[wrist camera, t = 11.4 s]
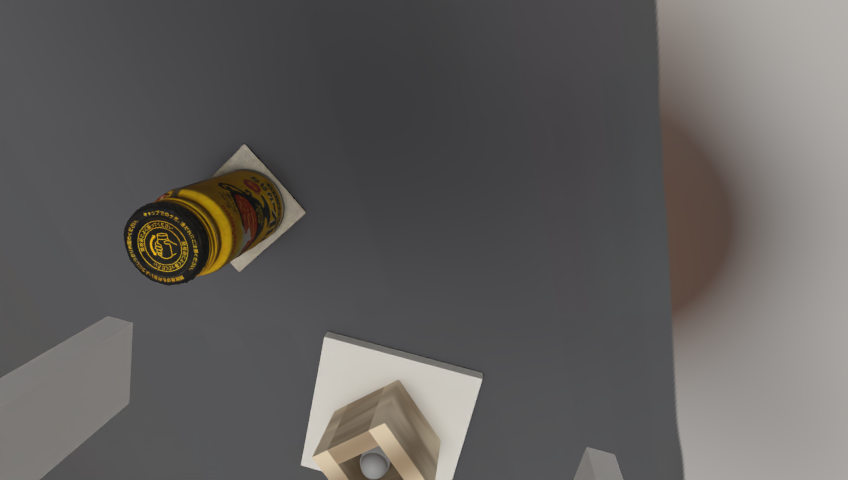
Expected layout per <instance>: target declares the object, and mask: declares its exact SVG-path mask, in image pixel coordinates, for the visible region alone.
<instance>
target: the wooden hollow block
mask: <svg viewBox="0 0 848 480" xmlns="http://www.w3.org/2000/svg"><path fill="white" fill-rule="evenodd" d="M440 443H441V440H440V439H439V437H438V436H437V434H436V433H435V432H434V430H433V429H432V427H431V426H430V424H429V423H428V421H427V420H426V418H425V417H424V416H423V414H422V413H421V411H420V410H419V408H418V407H417V405H416V404H415V402H414V401H413V400H412V398H411V397H410V395H409V394H408V392H407V391H406V389H405V388H404V386H403V385H402V384H401V382H400V381H399V379H398V380H396V381H394V382H392V383H390V384H388V385H386V386H384V387H382V388H380V389H378V390H376V391H374V392H372V393H370V394H368V395H366V396H364V397H362V398H360V399H358V400H356V401H354V402H352V403H350V404H348V405H346V406H344V407H342V408H340V409H338V410H336V411H334V413H333V415H332V417H331V420H330V422H329V424H328V426H327V428H326V430H325V432H324V434H323V436H322V438H321V440H320V442H319V444H318V446H317V448H316V450H315V452H314V454H313V456H312V458H313V460H314V461H315V462H316V464H317V465H318V466H319V468H320V469H321V470H322V471H323V473H324V474H325V475H326V477H327V478H328V479H329V480H435V478H436V471H437V464H438V457H439V450H440ZM377 446H380V447H381V449H382V450H383V451H384V453H385V454H386V456H387V457H388V458H389V460H390V461H391V462H390V466H389V469H388V471H387V472H386V473H385V474H384V475H383V476H382V477H381V478H378V479H369V478H367V477H366V476H365V475H364V474H363V473H362V470H361V467H360V458H361V456H362V453H364V452H366V451H369V450H371V449H373V448H375V447H377Z"/></svg>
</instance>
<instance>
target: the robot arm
mask: <svg viewBox="0 0 848 480" xmlns="http://www.w3.org/2000/svg"><path fill="white" fill-rule="evenodd" d="M132 331H133V323H131V322H128V321H124V320H120V319H117V318H113V317H109V316H107V317H105V318H104V319H102V320H100V321H99V322H97V323H95V324H93V325H92V326H90V327H88V328H86V329H85V330H83V331H81V332H80V333H78V334H76V335H74V336H73V337H71V338H69V339H67V340H66V341H64V342H62V343H60V344H59V345H57V346H55V347H54V348H52V349H50V350H48V351H47V352H45V353H43V354H41V355H40V356H38V357H36V358H35V359H33V360H31V361H29V362H28V363H26V364H24V365H22V366H21V367H19V368H17V369H15V370H14V371H12V372H10V373H9V374H7V375H5V376H3V377H2V378H0V480H40V479H41V478H42V477H43V476H44V475H45V474H47V473H48V472H49V471H50V470H51V469H52V468H54V467H55V466H56V465H57V464H58V463H59V462H61V461H62V460H63V459H64V458H65V457H66V456H68V455H69V454H70V453H71V452H72V451H74V450H75V449H76V448H77V447H78V446H79V445H81V444H82V443H83V442H84V441H85V440H86V439H88V438H89V437H90V436H91V435H92V434H93V433H95V432H96V431H97V430H98V429H99V428H100V427H102V426H103V425H104V424H105V423H106V422H108V421H109V420H110V419H111V418H112V417H113V416H115V415H116V414H117V413H118V412H119V411H120V410H122V409H123V408H124V407H125V406H126V405H127V404H129V393H130V373H131V352H132ZM574 480H623V477H622V474H621V472H620V469H619V466H618V463H617V460H616V457H615V455H614V454H611V453H607V452H603V451H600V450H596V449H592V448H589V447H586V450H585V452H584V455H583V457H582V460H581V462H580V465H579V467H578V470H577V472H576V475H575V477H574Z"/></svg>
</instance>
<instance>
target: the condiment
mask: <svg viewBox="0 0 848 480" xmlns="http://www.w3.org/2000/svg"><path fill="white" fill-rule="evenodd" d="M305 213H306V212H305V211H304V210H303V209H302V208H301V206H300V205H299V204H298V203H297V202H296V200H295V199H294V198H293V197H292V196H291V195H290V193H289V192H288V191H287V190H286V189H285V188H284V187H283V185H282V184H281V183H280V182H279V181H278V180H277V179H276V178H275V177H274V175H273V174H272V173H271V172H270V171H269V170H268V169H267V168H266V167H265V165H264V164H263V163H262V162H261V161H260V160H259V159H258V158H257V157H256V156H255V155H254V154H253V153H252V152H251V150H250V149H249V148H248V147H247V146H246V145H245V144H244V145H243V146H242V147H241V148H240V149H239V150H238V151H237V152H236V153H235V154H234V155H233V156H232V157H231V158H230V159H229V160H228V161H227V162H226V163H225V164H224V165H223V166H222V167H221V168H220V169H219V170H218V171H217V172H216V173H215V174H214V175H213V176H212V177H210V179H207V180H203V181H200V182H197V183H194V184H190V185H187V186H184V187H181V188H178V189H173V190H171V191H169V192H167V193H165V194H164V195H162V196H161V197H159V198H158V199H157V200H156V201H155V202H153V203H149V204H147V205H145V206H143V207H141V208H140V209H138V210H137V211H136V212H135V213H134V214H133V215H132V216H131V217H130V219H129V220H128V221H127V224H126V226H125V228H124V241H125V247H126V250H127V253H128V256H129V258H130V260H131V262H132V263H133V264H134V266H135V267H136V268H137V269H138V270H139V271H140V272H141V273H142V274H143V275H145V276H146V277H147V278H149V279H150V280H152V281H154V282H158V283H161V284H165V285H174V284H180V283H187V282H188V281H190V280H193V279H194V278H195V277H197V276H199V275H206V274H209V273H212V272H215V271H217V270H219V269H221V268H222V267H223V266H225V265H226V264H228V263H229V262H230V263H231V264H232V265H233V266H234V267H235V268H236V269H237V270H238V271H239V272H240V271H241V270H242V269H243V268H244V267H245V266H247V265H248V264H249V263H250V262H251V261H252V260H253V259H255V258H256V257H257V256H258V255H259V254H260V253H261V252H262V251H264V250H265V249H266V248H267V247H268V246H269V245H270V244H272V243H273V242H274V241H275V240H276V239H277V238H278V237H279V236H281V235H282V234H283V233H284V232H285V231H286V230H287V229H289V228H290V227H291V226H292V225H293V224H294V223H295V222H296V221H298V220H299V219H300V218H301V217H302V216H303V215H304V214H305Z"/></svg>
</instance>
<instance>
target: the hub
mask: <svg viewBox="0 0 848 480" xmlns="http://www.w3.org/2000/svg"><path fill="white" fill-rule="evenodd" d="M482 378H483V373H481V372H477V371H474V370H470V369H466V368H462V367H459V366H455V365H451V364H447V363H444V362H440V361H436V360H433V359H429V358H425V357H421V356H418V355H414V354H410V353H406V352H403V351H399V350H395V349H391V348H388V347H384V346H380V345H377V344H373V343H369V342H365V341H362V340H358V339H354V338H350V337H347V336H343V335H339V334H336V333H332V332H327V334H326V335H325V337H324V342H323V347H322V353H321V358H320V364H319V369H318V375H317V380H316V386H315V391H314V397H313V402H312V408H311V413H310V419H309V424H308V430H307V435H306V441H305V446H304V452H303V457H302V463H301V465H302V466H305V467H309V468H312V469H316V470H319V471H322V470H321V469H320V468H319V466H318V465H317V464H316V462H315V461H314V460H313V458H312V456H313V454H314V452H315V450H316V448H317V446H318V444H319V442H320V440H321V438H322V436H323V434H324V432H325V430H326V428H327V426H328V424H329V422H330V420H331V417H332V415H333V413H334V411H336V410H338V409H340V408H342V407H344V406H346V405H348V404H350V403H352V402H354V401H356V400H358V399H360V398H362V397H364V396H366V395H368V394H370V393H372V392H374V391H376V390H378V389H380V388H382V387H384V386H386V385H388V384H390V383H392V382H394V381H396V380H398V379H399V381H400V382H401V384H402V385H403V386H404V388H405V389H406V391H407V392H408V394H409V395H410V397H411V398H412V400H413V401H414V402H415V404H416V405H417V407H418V408H419V410H420V411H421V413H422V414H423V416H424V417H425V418H426V420H427V421H428V423H429V424H430V426H431V427H432V429H433V430H434V432H435V433H436V434H437V436H438V437H439V439H440V440H441V443H440V450H439V457H438V464H437V471H436V478H435V480H452V479H453V475H454V472H455V469H456V465H457V462H458V459H459V455H460V452H461V449H462V445H463V442H464V439H465V436H466V432H467V429H468V426H469V422H470V419H471V416H472V412H473V409H474V406H475V402H476V399H477V396H478V392H479V389H480V386H481V382H482ZM390 462H391V461H390V460H389V458H388V457H387V456H386V454H385V453H384V451H383V450H382V449H381V447H380V446H377V447H375V448H373V449H371V450H369V451H366V452H364V453H362V456H361V458H360V467H361V470H362V473H363V474H364V475H365V476H366V477H367V478H369V479H378V478H381V477H382V476H383V475H384V474H385V473H386V472H387V471H388V469H389V466H390Z"/></svg>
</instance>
